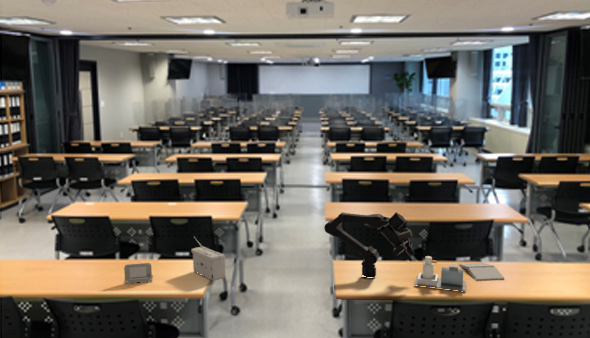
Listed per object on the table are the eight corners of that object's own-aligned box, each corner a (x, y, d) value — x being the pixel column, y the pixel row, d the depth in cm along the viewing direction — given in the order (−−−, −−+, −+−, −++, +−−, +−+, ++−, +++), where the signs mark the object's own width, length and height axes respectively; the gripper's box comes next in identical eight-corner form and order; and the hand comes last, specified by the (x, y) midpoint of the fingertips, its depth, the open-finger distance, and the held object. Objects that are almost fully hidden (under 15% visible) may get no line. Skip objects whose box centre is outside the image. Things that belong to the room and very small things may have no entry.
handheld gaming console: (153, 275, 268) (152, 257, 266) (152, 282, 259) (150, 263, 257) (127, 278, 265) (125, 259, 263) (125, 284, 256) (123, 265, 254)
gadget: (504, 280, 258) (505, 273, 257) (475, 281, 257) (476, 274, 256) (485, 265, 280) (485, 259, 280) (458, 266, 279) (459, 259, 279)
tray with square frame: (414, 286, 249) (414, 266, 248) (417, 277, 262) (417, 257, 260) (465, 292, 241) (466, 271, 240) (466, 282, 253) (467, 262, 252)
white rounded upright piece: (421, 282, 252) (422, 258, 250) (422, 278, 257) (423, 255, 255) (435, 284, 250) (436, 259, 248) (436, 280, 254) (437, 256, 253)
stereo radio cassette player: (226, 278, 262) (225, 241, 259) (212, 282, 257) (211, 244, 254) (204, 268, 278) (203, 233, 274) (191, 272, 272) (189, 236, 269)
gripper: (400, 229, 245) (423, 253, 243) (405, 220, 262) (426, 242, 260) (383, 243, 249) (406, 267, 246) (390, 233, 266) (411, 255, 264)
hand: (413, 257), depth 254 cm, fingers open, 9 cm apart
